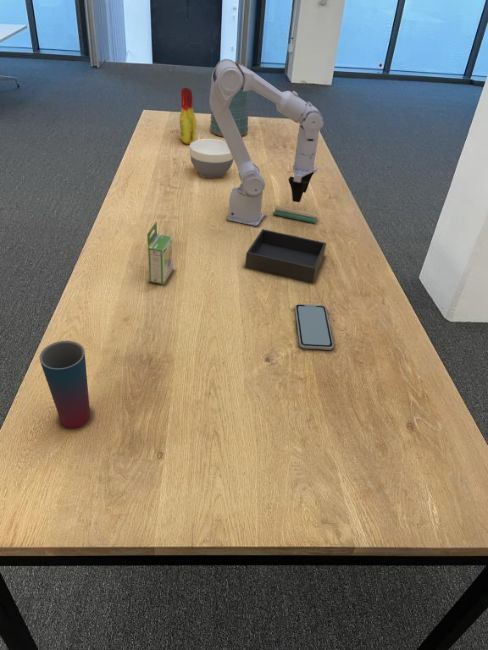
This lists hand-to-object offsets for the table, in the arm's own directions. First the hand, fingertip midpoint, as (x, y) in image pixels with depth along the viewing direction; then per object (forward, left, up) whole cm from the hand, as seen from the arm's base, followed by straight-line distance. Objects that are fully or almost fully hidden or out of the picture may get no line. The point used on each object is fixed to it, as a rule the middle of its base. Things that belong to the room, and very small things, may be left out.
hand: (299, 196), depth 151 cm
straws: (-1, 0, -7) cm, 7 cm away
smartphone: (+16, -52, -7) cm, 55 cm away
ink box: (-23, -47, -8) cm, 53 cm away
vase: (-46, +67, -7) cm, 82 cm away
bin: (+4, -27, -7) cm, 28 cm away
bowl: (-36, +21, -8) cm, 43 cm away
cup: (-17, -94, -8) cm, 96 cm away
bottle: (-58, +48, -8) cm, 75 cm away
